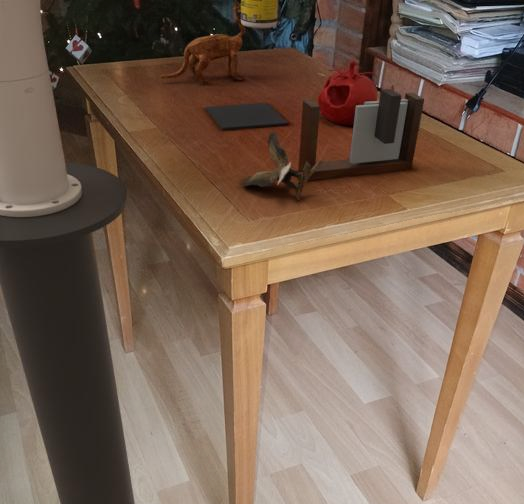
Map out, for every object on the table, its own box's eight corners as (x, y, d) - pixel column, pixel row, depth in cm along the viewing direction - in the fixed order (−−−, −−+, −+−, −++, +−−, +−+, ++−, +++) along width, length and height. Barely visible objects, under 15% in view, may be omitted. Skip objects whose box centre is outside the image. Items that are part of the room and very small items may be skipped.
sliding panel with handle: (360, 172, 81) (370, 97, 75) (349, 161, 84) (357, 89, 78) (408, 167, 83) (422, 93, 77) (396, 157, 86) (407, 85, 80)
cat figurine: (165, 88, 114) (159, 5, 106) (156, 79, 119) (150, -2, 111) (255, 81, 120) (257, 1, 111) (243, 73, 125) (244, -5, 116)
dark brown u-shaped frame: (305, 180, 82) (311, 107, 76) (297, 172, 84) (302, 100, 79) (411, 169, 86) (424, 98, 81) (401, 161, 89) (413, 92, 83)
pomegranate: (359, 108, 108) (366, 50, 102) (385, 126, 101) (394, 65, 95) (307, 112, 106) (311, 53, 100) (330, 131, 98) (336, 69, 92)
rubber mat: (222, 130, 97) (222, 127, 97) (205, 109, 105) (205, 106, 105) (287, 125, 100) (288, 122, 100) (266, 105, 108) (266, 102, 108)
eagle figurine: (326, 178, 80) (273, 149, 83) (320, 143, 73) (263, 113, 77) (291, 222, 79) (238, 190, 82) (281, 190, 72) (225, 157, 76)
